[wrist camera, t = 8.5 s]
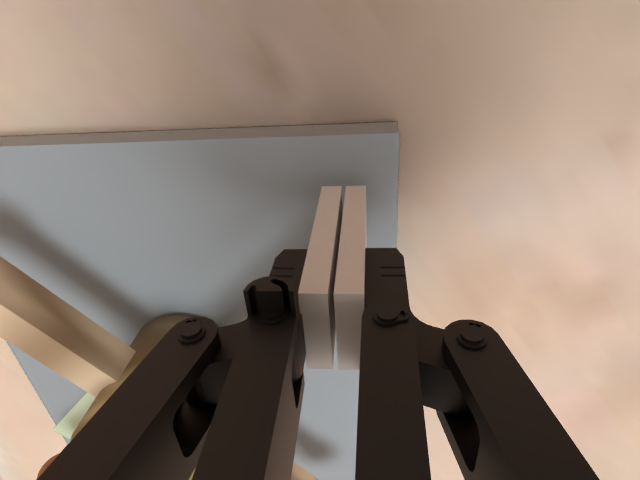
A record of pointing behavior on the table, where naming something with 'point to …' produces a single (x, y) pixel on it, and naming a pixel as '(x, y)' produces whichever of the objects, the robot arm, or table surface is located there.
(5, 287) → the capstan
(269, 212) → the plate
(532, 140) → the table surface
